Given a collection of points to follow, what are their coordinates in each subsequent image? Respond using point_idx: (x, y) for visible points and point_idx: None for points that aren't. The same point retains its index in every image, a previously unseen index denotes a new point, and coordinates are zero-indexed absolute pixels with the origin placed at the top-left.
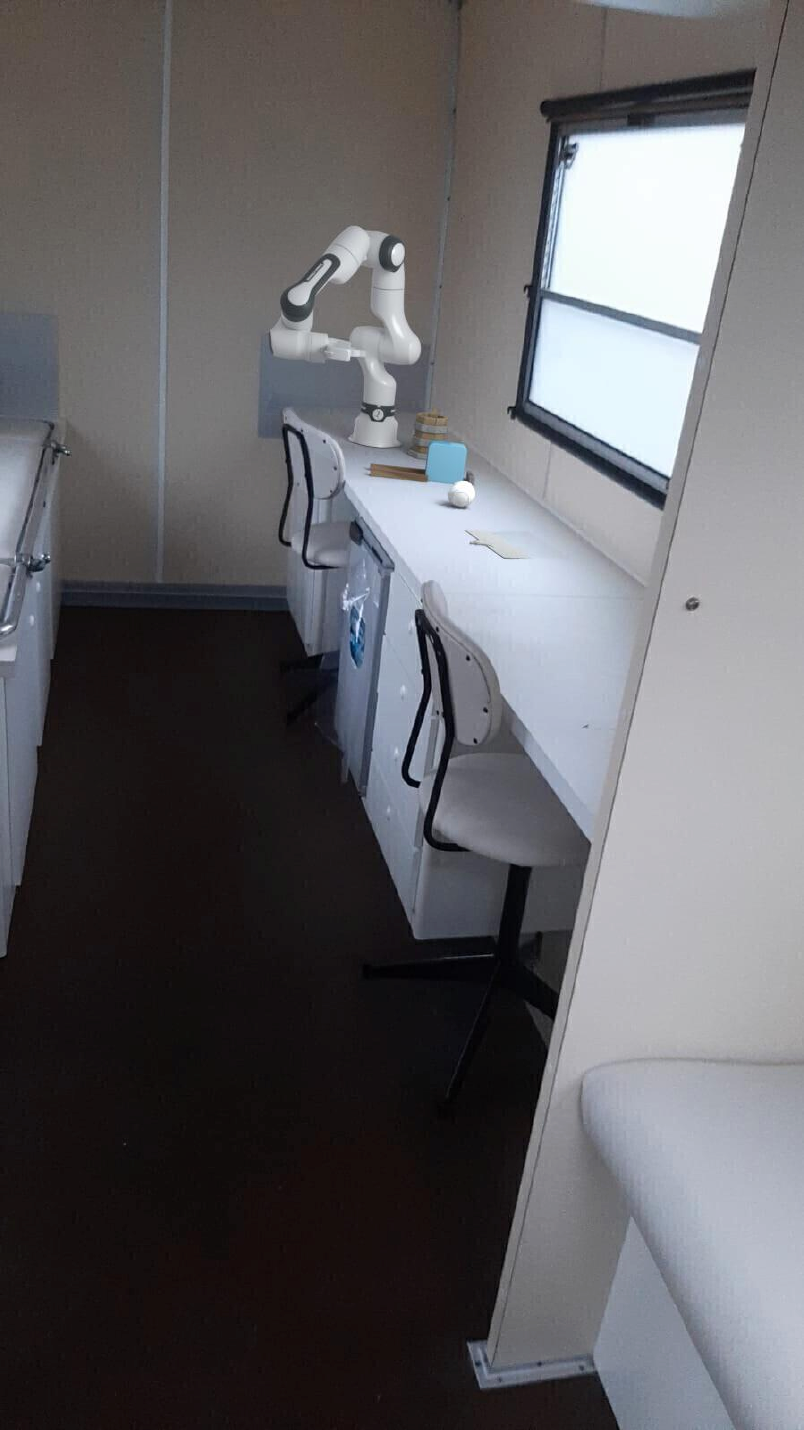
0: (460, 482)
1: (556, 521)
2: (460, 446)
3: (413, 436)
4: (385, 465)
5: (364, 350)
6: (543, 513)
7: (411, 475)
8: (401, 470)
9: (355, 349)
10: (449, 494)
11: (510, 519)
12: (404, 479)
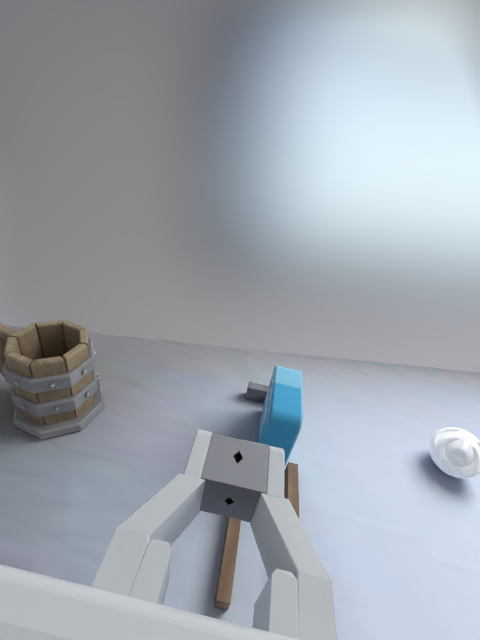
0: (471, 444)
1: (415, 368)
2: (301, 376)
3: (40, 406)
4: (231, 550)
5: (237, 443)
6: (387, 368)
7: (298, 499)
8: None
9: (160, 530)
10: (477, 474)
11: (454, 414)
12: None
